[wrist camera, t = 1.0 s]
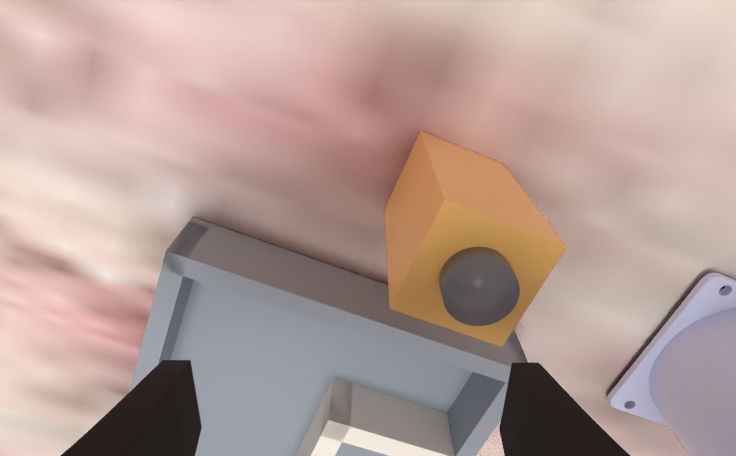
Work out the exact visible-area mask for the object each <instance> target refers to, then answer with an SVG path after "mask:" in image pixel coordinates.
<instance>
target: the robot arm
mask: <svg viewBox="0 0 736 456" xmlns="http://www.w3.org/2000/svg"><path fill="white" fill-rule="evenodd" d="M723 286H725V288H724V289H722V290H720V288H722V287H723ZM719 290H720V291H719ZM608 401H609V403H610V405H611V406H612V407H613V408H615V409H618V410H621V411H624V412H627V413H630V414H633V415H636V416H639V417H642V418H645V419H648V420H651V421H654V422H657V423H660V424H663V425H666V426H669V427H670V428H671V429H672V431H673V432H674V434H675V435H676V437H677V438H678V440H679V441H680V443H681V444H682V446H683V447H684V449H685V450H686V451H687V453H688V454H689V456H736V280H734V279H732V278H729V277H727V276H724V275H722V274H719V273H715V272H714V273H709V274H707V275H705V276H704V277H703V278H702V279H701V280H700V281H699V282H698V283H697V285H696V286H695V287H694V288H693V290H692V291H691V292H690V293H689V295H688V296H687V297H686V298H685V300H684V301H683V302H682V303H681V305H680V306H679V307H678V308H677V310H676V311H675V312H674V313H673V315H672V316H671V317H670V318H669V320H668V321H667V322H666V323H665V325H664V326H663V327H662V328H661V330H660V331H659V332H658V333H657V335H656V336H655V337H654V338H653V340H652V341H651V342H650V343H649V345H648V346H647V347H646V348H645V350H644V351H643V352H642V353H641V355H640V356H639V357H638V358H637V360H636V361H635V362H634V363H633V365H632V366H631V367H630V368H629V370H628V371H627V372H626V373H625V375H624V376H623V377H622V378H621V380H620V381H619V382H618V383H617V385H616V386H615V387H614V388H613V389H612V391H611V392H610V393H609V395H608ZM628 401H629V402H628ZM626 402H627V403H626ZM201 429H202V426H201V420H200V414H199V408H198V402H197V396H196V390H195V384H194V378H193V372H192V366H191V360H162V361H161V362H160V363H159V364H158V365H157V366H156V367H155V368H154V369H153V370H152V371H151V372H150V373H149V374H148V375H147V376H146V377H145V378H144V379H143V380H141V381H140V382H139V383H138V384H137V385H136V386H135V387H134V388H133V389H132V390H131V391H130V392H129V393H128V394H127V395H126V396H125V397H124V398H123V399H122V400H121V401H120V402H119V403H118V404H117V405H116V406H115V407H114V408H113V409H112V410H111V411H109V412H108V413H107V414H106V415H105V416H104V417H103V418H102V419H101V420H100V421H99V422H98V423H97V424H96V425H95V426H93V427H92V428H91V429H90V430H89V431H88V432H87V433H86V434H85V435H84V436H83V437H82V438H80V439H79V440H78V441H77V442H76V443H75V444H74V445H72V446H71V447H70V448H69V449H68V450H67V451H66V452H64V453H63V454H62V455H61V456H195V453H196V449H197V445H198V441H199V437H200V433H201ZM500 434H501V439H502V444H503V449H504V453H505V456H630V455H629V454H628V453H627V452H626V451H625V450H624V449H622V448H621V447H620V446H619V445H618V444H617V443H616V442H615V441H614V440H613V439H612V438H611V437H610V436H609V435H608V434H607V433H606V432H605V431H604V430H603V429H602V428H601V427H600V426H599V425H598V424H597V423H596V422H595V421H594V420H593V419H592V418H591V417H590V416H589V415H588V414H587V413H586V412H585V411H584V410H583V409H582V408H581V407H580V406H579V405H578V404H577V403H576V402H575V401H574V400H573V398H572V397H571V396H570V395H569V394H568V393H567V392H566V391H565V390H564V389H563V388H562V387H561V386H560V385H559V384H558V383H557V382H556V380H555V379H554V378H553V377H552V376H551V375H550V374H549V373H548V372H547V371H546V370H545V369H544V368H543V367H542V366H541V365H540V364H539V363H512V365H511V370H510V375H509V381H508V386H507V391H506V397H505V402H504V407H503V413H502V418H501V423H500Z"/></svg>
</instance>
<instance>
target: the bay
mask: <svg viewBox="0 0 736 456" xmlns="http://www.w3.org/2000/svg"><path fill="white" fill-rule="evenodd" d="M162 360H191V366H192V372H193V378H194V384H195V390H196V396H197V402H198V408H199V414H200V420H201V426H202V429H201V433H200V437H199V441H198V445H197V449H196V453H195V456H476V455H477V453H478V452H479V450H480V449H481V447H482V446H483V445H484V443H485V442H486V440H487V439H488V437H489V436H490V435H491V433H492V432H493V430H494V429H495V427H496V426H497V425H498V423H499V422H500V420H501V418H502V413H503V407H504V402H505V397H506V391H507V386H508V381H509V375H510V370H511V365H512V363H528V362H527V359H526V357H525V354H524V352H523V350H522V347H521V345H520V343H519V340H518V338H517V335H516V333H515V331H514V329H513V331H512V332H511V334H510V335H509V337H508V338H507V340H506V342H505V343H504V345H503V346H502V347H500V346H498V345H495V344H492V343H489V342H486V341H483V340H480V339H477V338H474V337H471V336H468V335H465V334H462V333H459V332H456V331H454V330H451V329H448V328H445V327H442V326H439V325H436V324H433V323H430V322H427V321H424V320H421V319H418V318H415V317H412V316H410V315H407V314H404V313H401V312H398V311H395V310H392V309H390V304H389V287H388V285H387V284H384V283H381V282H378V281H375V280H372V279H369V278H367V277H364V276H361V275H358V274H355V273H352V272H349V271H347V270H344V269H341V268H338V267H335V266H332V265H329V264H327V263H324V262H321V261H318V260H315V259H312V258H309V257H306V256H304V255H301V254H298V253H295V252H292V251H289V250H286V249H284V248H281V247H278V246H275V245H272V244H269V243H266V242H264V241H261V240H258V239H255V238H252V237H249V236H246V235H244V234H241V233H238V232H235V231H232V230H229V229H226V228H224V227H221V226H218V225H215V224H212V223H209V222H206V221H203V220H201V219H198V218H195V217H192V219H191V220H190V221H189V223H188V224H187V225H186V226H185V228H184V229H183V230H182V231H181V233H180V234H179V235H178V237H177V238H176V239H175V240H174V242H173V243H172V244H171V245H170V247H169V248H168V249H167V251H166V254H165V257H164V261H163V265H162V269H161V273H160V277H159V280H158V284H157V288H156V292H155V296H154V300H153V303H152V307H151V311H150V315H149V319H148V323H147V327H146V330H145V334H144V338H143V342H142V346H141V350H140V353H139V357H138V361H137V365H136V369H135V373H134V377H133V380H132V384H131V388H130V391H131V390H132V389H133V388H134V387H135V386H136V385H137V384H138V383H139V382H140V381H141V380H143V379H144V378H145V377H146V376H147V375H148V374H149V373H150V372H151V371H152V370H153V369H154V368H155V367H156V366H157V365H158V364H159V363H160V362H161V361H162Z"/></svg>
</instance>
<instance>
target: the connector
mask: <svg viewBox="0 0 736 456" xmlns="http://www.w3.org/2000/svg"><path fill="white" fill-rule="evenodd" d="M384 221H385V237H386V254H387V271H388V287H389V304H390V309H392V310H395V311H398V312H401V313H404V314H407V315H410V316H412V317H415V318H418V319H421V320H424V321H427V322H430V323H433V324H436V325H439V326H442V327H445V328H448V329H451V330H454V331H456V332H459V333H462V334H465V335H468V336H471V337H474V338H477V339H480V340H483V341H486V342H489V343H492V344H495V345H498V346H500V347H502V346H503V345H504V343H505V342H506V340H507V338H508V337H509V335H510V334H511V332H512V331H513V329H514V328H515V326H516V325H517V323H518V321H519V320H520V318H521V317H522V315H523V314H524V312H525V311H526V309H527V308H528V306H529V304H530V303H531V301H532V300H533V298H534V297H535V295H536V294H537V292H538V291H539V289H540V287H541V286H542V284H543V283H544V281H545V280H546V278H547V277H548V275H549V274H550V272H551V270H552V269H553V267H554V266H555V264H556V263H557V261H558V260H559V258H560V257H561V255H562V253H563V252H564V250H565V249H566V245H565V244H564V243H563V241H562V240H561V239H560V237H559V236H558V235H557V233H556V232H555V231H554V230H553V228H552V227H551V226H550V224H549V223H548V222H547V220H546V219H545V218H544V216H543V215H542V214H541V212H540V211H539V210H538V208H537V207H536V206H535V205H534V203H533V202H532V201H531V199H530V198H529V197H528V195H527V194H526V193H525V191H524V190H523V189H522V187H521V186H520V185H519V183H518V182H517V181H516V180H515V178H514V177H513V176H512V174H511V173H510V172H509V170H508V169H507V168H506V166H505V165H504V164H502V163H500V162H497V161H495V160H492V159H490V158H487V157H485V156H482V155H480V154H477V153H475V152H472V151H470V150H467V149H465V148H463V147H460V146H458V145H455V144H453V143H450V142H448V141H445V140H443V139H440V138H438V137H435V136H433V135H431V134H428V133H426V132H423V131H421V130H420V132H419V134H418V137H417V139H416V141H415V143H414V145H413V148H412V150H411V152H410V154H409V156H408V159H407V161H406V163H405V165H404V167H403V170H402V172H401V174H400V176H399V178H398V181H397V183H396V185H395V187H394V189H393V192H392V194H391V196H390V198H389V201H388V203H387V205H386V207H385V209H384Z"/></svg>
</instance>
